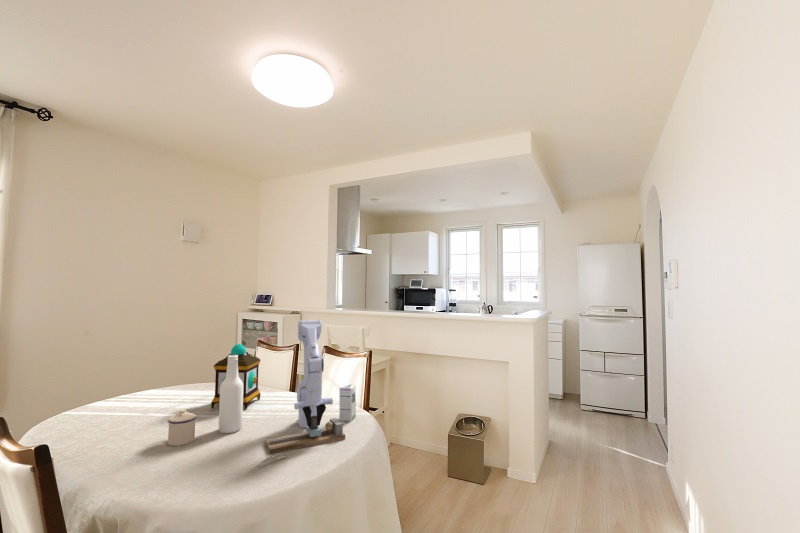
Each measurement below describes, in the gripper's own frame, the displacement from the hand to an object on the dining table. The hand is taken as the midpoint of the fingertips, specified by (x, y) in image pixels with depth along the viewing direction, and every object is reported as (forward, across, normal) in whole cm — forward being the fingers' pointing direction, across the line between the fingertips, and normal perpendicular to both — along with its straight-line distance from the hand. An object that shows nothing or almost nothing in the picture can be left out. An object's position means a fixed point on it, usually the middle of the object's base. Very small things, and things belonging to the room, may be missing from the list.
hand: (313, 425), depth 145 cm
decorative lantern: (+6, -21, +62) cm, 66 cm away
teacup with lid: (+6, -45, +23) cm, 51 cm away
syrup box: (+6, +20, +16) cm, 26 cm away
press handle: (+3, 0, 0) cm, 3 cm away
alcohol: (+6, -27, +26) cm, 38 cm away
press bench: (+5, -3, 0) cm, 6 cm away
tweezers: (+6, -21, -13) cm, 25 cm away
